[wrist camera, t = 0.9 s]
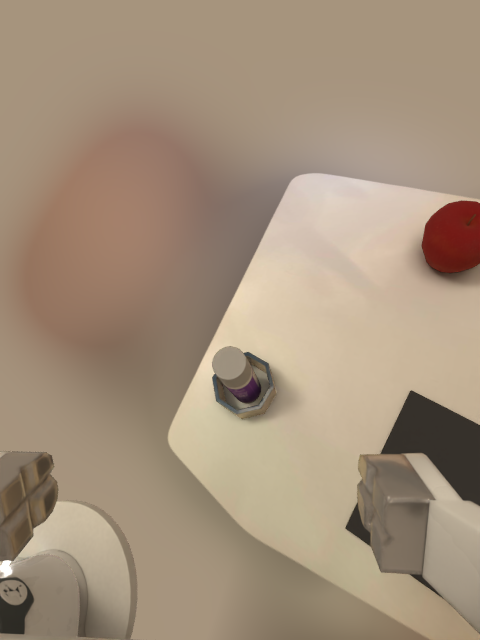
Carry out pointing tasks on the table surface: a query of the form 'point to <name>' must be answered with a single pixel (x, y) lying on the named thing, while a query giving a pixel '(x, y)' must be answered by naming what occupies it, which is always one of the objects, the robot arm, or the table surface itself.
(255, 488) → the table surface
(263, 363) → the octagonal ring
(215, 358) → the container
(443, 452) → the mat
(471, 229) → the apple
